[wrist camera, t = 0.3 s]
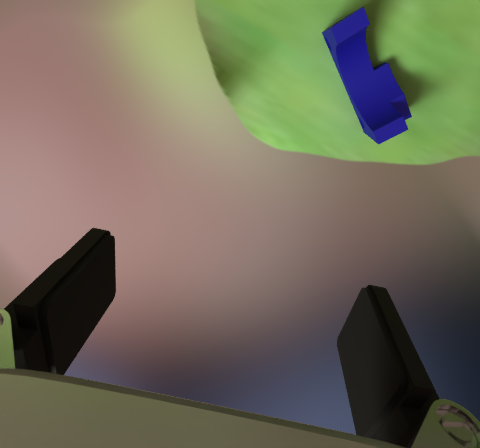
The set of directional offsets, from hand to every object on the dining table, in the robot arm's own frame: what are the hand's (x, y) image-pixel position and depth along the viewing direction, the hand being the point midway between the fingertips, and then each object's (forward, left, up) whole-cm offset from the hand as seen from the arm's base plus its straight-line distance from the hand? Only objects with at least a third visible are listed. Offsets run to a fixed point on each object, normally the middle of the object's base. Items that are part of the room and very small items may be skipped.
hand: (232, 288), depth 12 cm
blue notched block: (-9, +9, -31) cm, 33 cm away
